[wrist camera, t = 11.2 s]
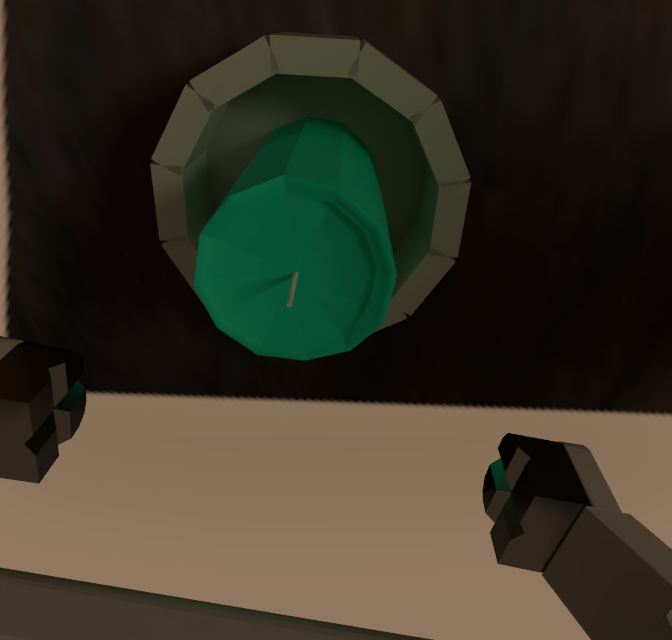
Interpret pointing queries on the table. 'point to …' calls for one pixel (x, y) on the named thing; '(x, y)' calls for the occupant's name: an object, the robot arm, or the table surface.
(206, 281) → the candle
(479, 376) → the table surface
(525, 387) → the table surface
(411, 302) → the dish
